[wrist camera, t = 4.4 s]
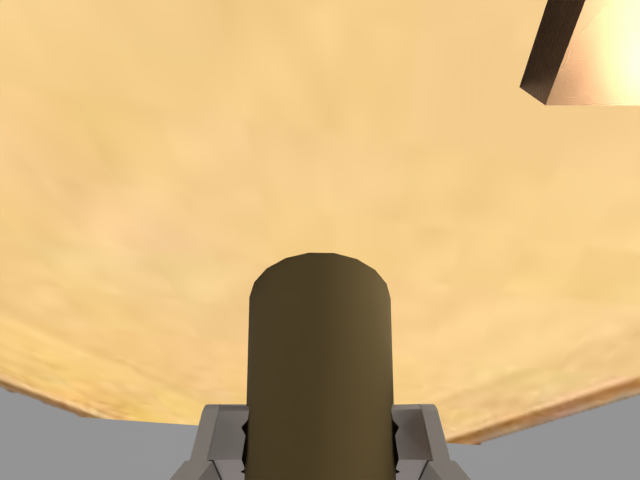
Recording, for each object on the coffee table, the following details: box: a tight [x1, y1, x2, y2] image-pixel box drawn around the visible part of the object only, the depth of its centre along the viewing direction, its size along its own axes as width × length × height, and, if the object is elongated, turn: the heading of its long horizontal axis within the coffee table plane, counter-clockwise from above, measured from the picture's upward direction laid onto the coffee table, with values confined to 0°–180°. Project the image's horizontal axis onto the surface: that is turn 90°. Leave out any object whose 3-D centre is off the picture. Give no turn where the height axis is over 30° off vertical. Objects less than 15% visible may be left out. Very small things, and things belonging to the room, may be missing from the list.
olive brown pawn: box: [244, 253, 396, 480], centre depth 11 cm, size 6×6×11 cm
